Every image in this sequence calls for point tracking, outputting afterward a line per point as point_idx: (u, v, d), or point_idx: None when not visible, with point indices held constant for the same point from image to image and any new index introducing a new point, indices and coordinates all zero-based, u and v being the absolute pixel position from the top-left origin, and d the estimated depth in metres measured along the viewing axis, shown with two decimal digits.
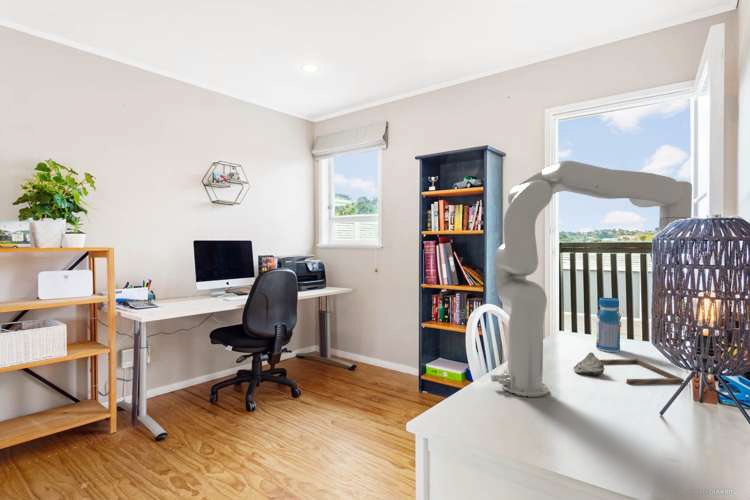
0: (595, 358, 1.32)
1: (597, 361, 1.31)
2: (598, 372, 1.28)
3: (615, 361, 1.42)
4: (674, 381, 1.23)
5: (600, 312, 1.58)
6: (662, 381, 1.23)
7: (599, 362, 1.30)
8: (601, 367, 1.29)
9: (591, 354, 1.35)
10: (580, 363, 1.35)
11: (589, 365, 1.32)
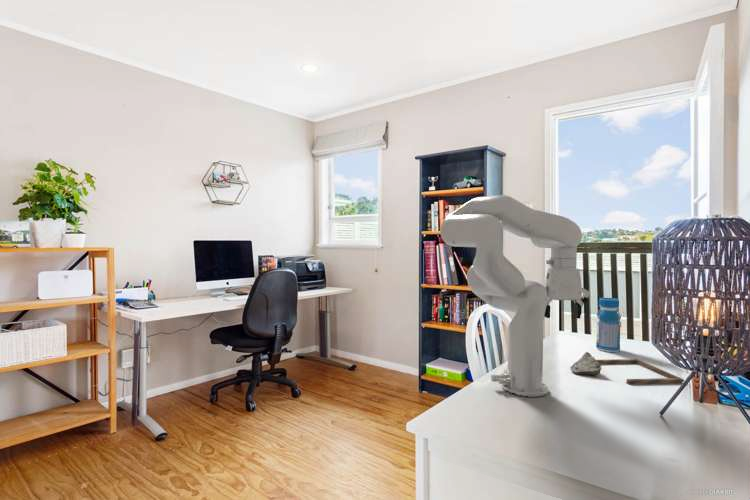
0: (591, 358, 1.33)
1: (594, 361, 1.31)
2: (595, 372, 1.28)
3: (615, 361, 1.42)
4: (674, 381, 1.23)
5: (600, 312, 1.58)
6: (662, 381, 1.23)
7: (596, 362, 1.30)
8: (598, 367, 1.29)
9: (587, 354, 1.35)
10: (577, 363, 1.35)
11: (586, 364, 1.32)
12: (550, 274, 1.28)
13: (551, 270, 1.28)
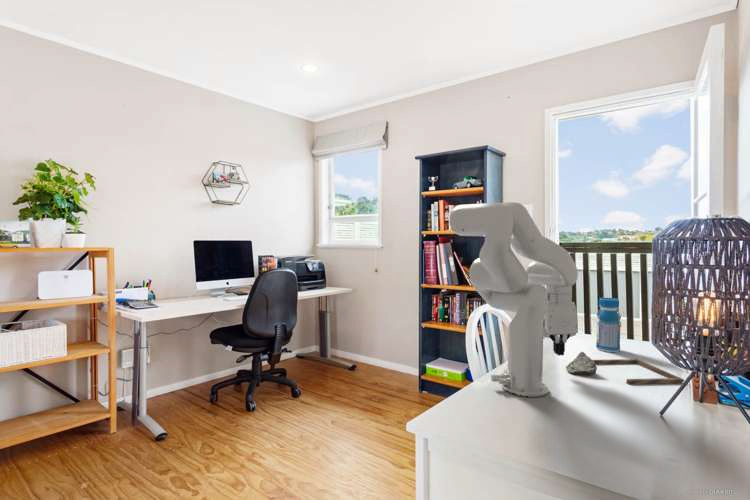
0: (587, 357, 1.33)
1: (589, 360, 1.32)
2: (591, 371, 1.28)
3: (615, 361, 1.42)
4: (674, 381, 1.23)
5: (600, 312, 1.58)
6: (662, 381, 1.23)
7: (591, 361, 1.31)
8: (594, 366, 1.29)
9: (582, 353, 1.35)
10: (572, 363, 1.35)
11: (581, 364, 1.32)
12: (547, 309, 1.29)
13: (547, 305, 1.29)
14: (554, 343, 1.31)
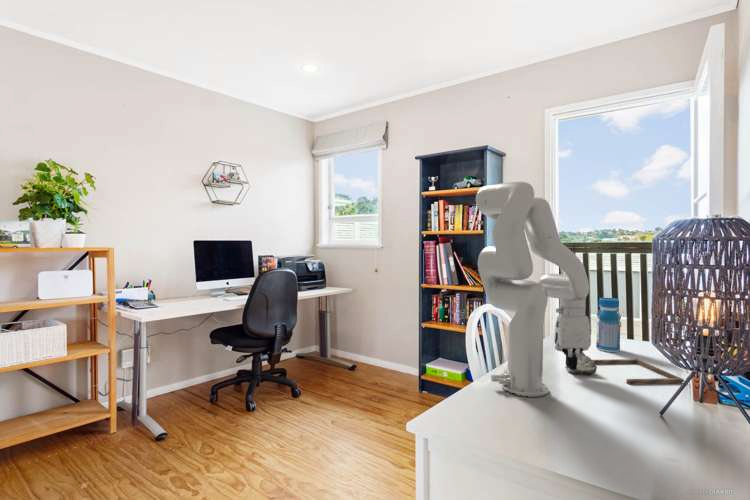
0: (586, 357, 1.34)
1: (589, 360, 1.32)
2: (592, 371, 1.29)
3: (615, 361, 1.42)
4: (674, 381, 1.23)
5: (600, 312, 1.58)
6: (662, 381, 1.23)
7: (591, 361, 1.31)
8: (594, 366, 1.30)
9: (581, 353, 1.36)
10: None
11: (581, 364, 1.33)
12: (560, 323, 1.29)
13: (561, 319, 1.29)
14: (567, 357, 1.31)
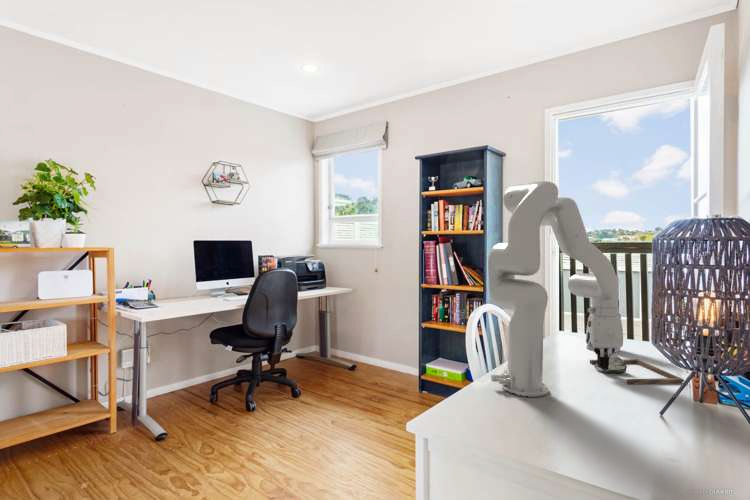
0: (615, 356, 1.35)
1: (618, 359, 1.33)
2: (622, 370, 1.30)
3: None
4: (674, 381, 1.23)
5: None
6: (662, 381, 1.23)
7: (620, 360, 1.33)
8: (623, 365, 1.31)
9: None
10: None
11: (610, 363, 1.34)
12: (592, 323, 1.30)
13: (593, 319, 1.30)
14: (598, 357, 1.32)
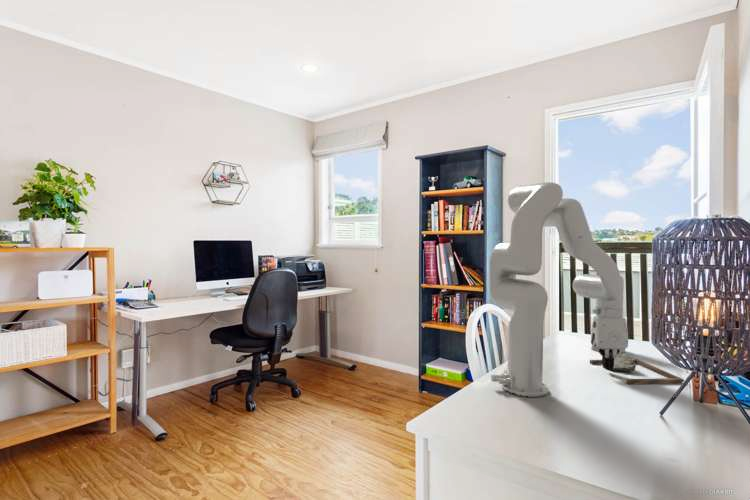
0: (625, 355, 1.36)
1: (628, 357, 1.35)
2: (630, 368, 1.32)
3: None
4: (674, 381, 1.23)
5: None
6: (662, 381, 1.23)
7: (630, 358, 1.34)
8: (633, 363, 1.33)
9: None
10: None
11: (620, 361, 1.35)
12: (597, 323, 1.30)
13: (598, 320, 1.30)
14: (603, 358, 1.32)
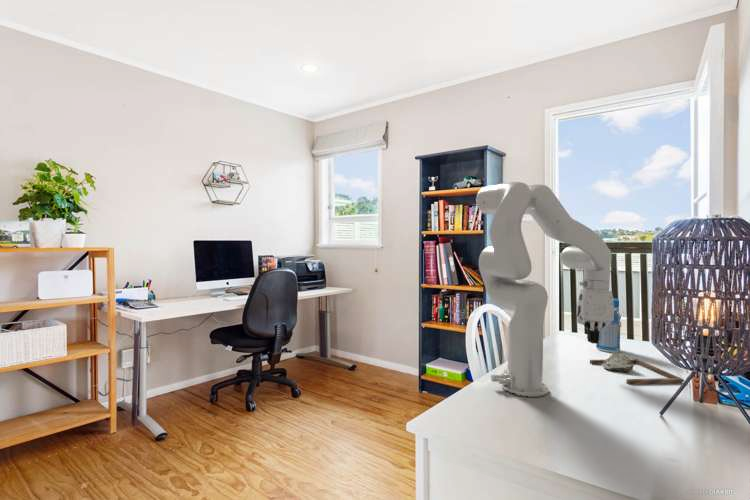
0: (623, 354, 1.36)
1: (625, 357, 1.35)
2: (628, 368, 1.32)
3: None
4: (674, 381, 1.23)
5: None
6: (662, 381, 1.23)
7: (628, 358, 1.34)
8: (630, 363, 1.33)
9: (618, 351, 1.39)
10: (608, 360, 1.38)
11: (618, 361, 1.36)
12: (584, 295, 1.29)
13: (585, 292, 1.29)
14: (588, 331, 1.31)
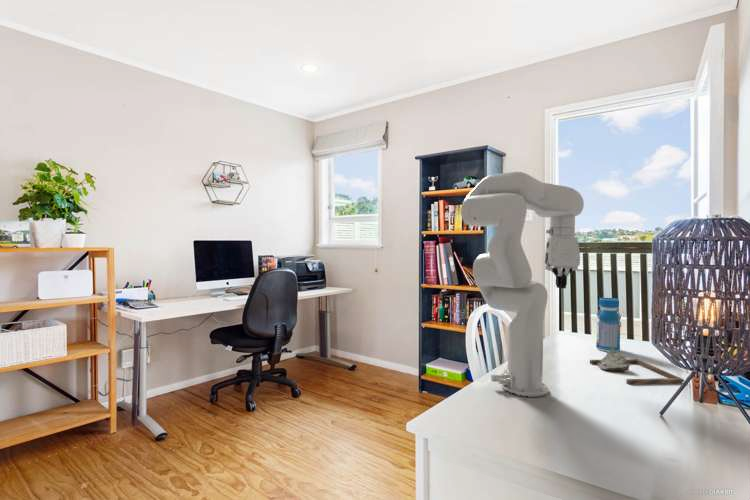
0: (618, 354, 1.37)
1: (621, 357, 1.35)
2: (624, 368, 1.32)
3: None
4: (674, 381, 1.23)
5: (600, 312, 1.58)
6: (662, 381, 1.23)
7: (623, 358, 1.34)
8: (626, 363, 1.33)
9: (613, 350, 1.39)
10: (603, 360, 1.38)
11: (613, 361, 1.36)
12: (550, 243, 1.34)
13: (551, 239, 1.34)
14: (556, 277, 1.36)
